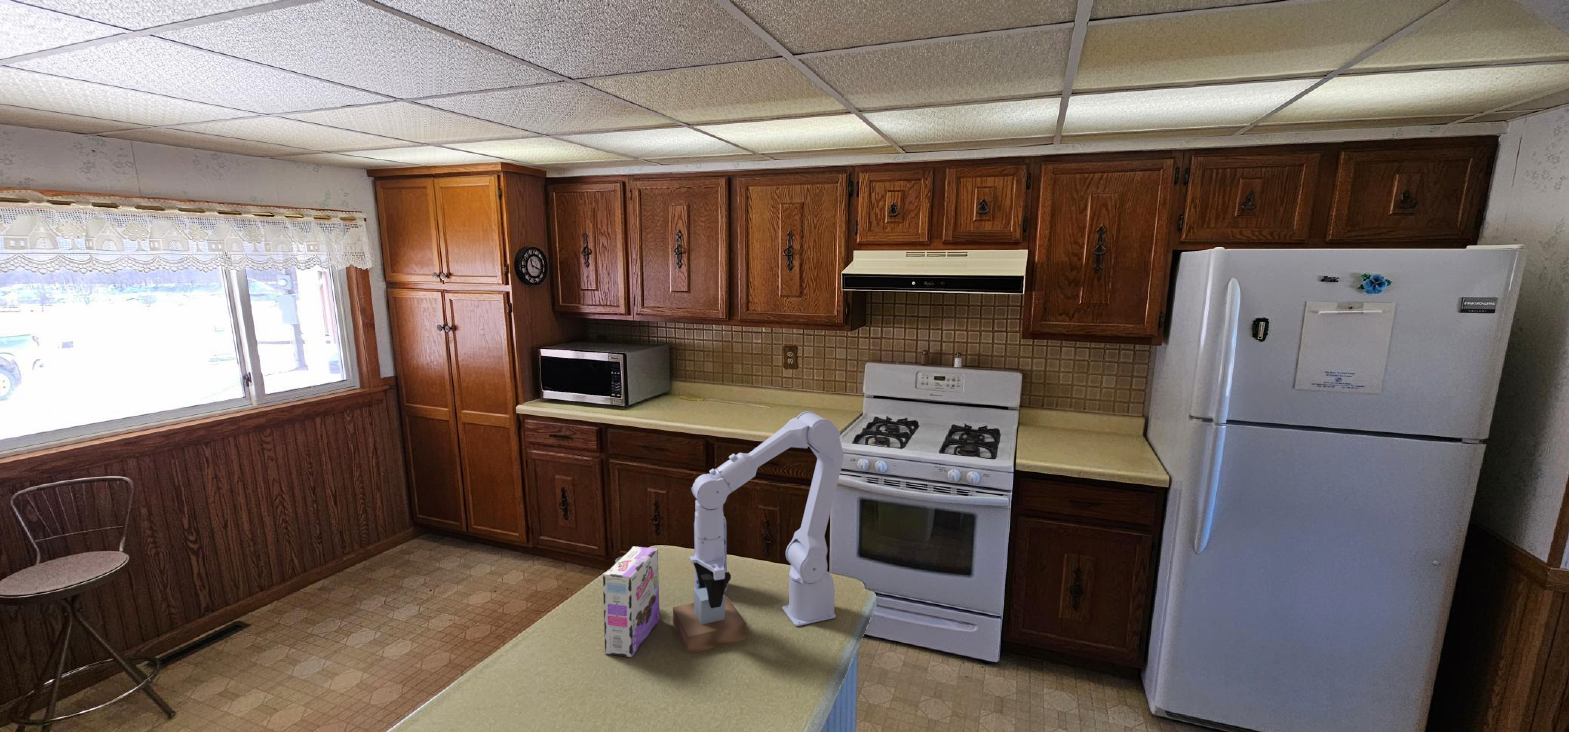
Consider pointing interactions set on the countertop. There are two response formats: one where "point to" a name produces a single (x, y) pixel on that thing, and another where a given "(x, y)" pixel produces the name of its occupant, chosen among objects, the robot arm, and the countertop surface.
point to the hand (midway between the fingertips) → (710, 597)
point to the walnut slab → (708, 628)
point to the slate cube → (707, 608)
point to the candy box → (631, 601)
